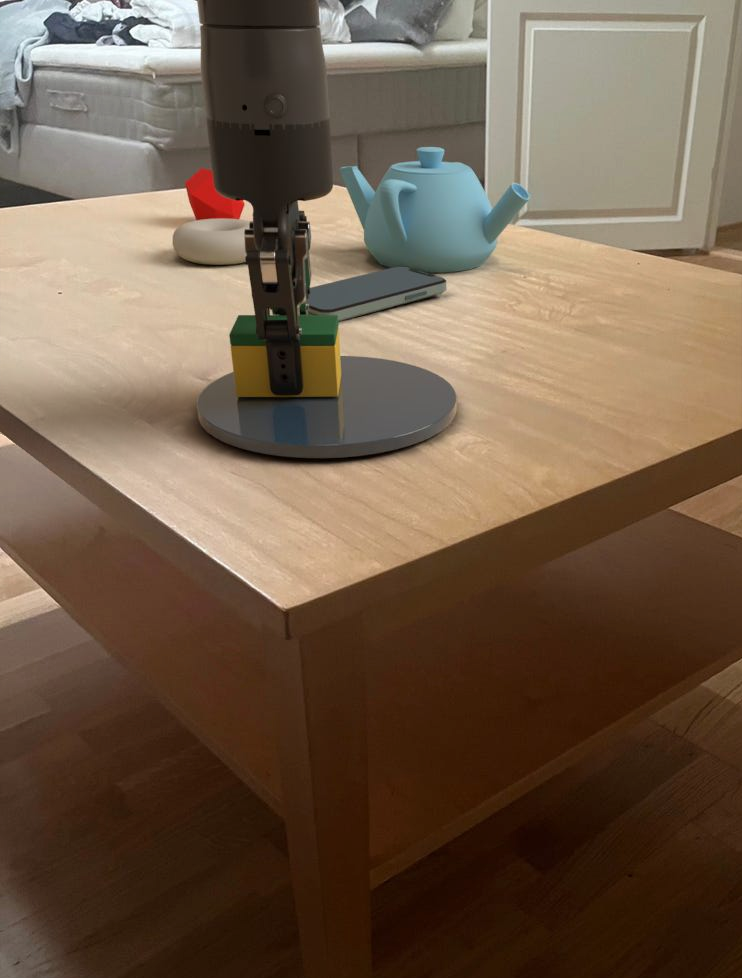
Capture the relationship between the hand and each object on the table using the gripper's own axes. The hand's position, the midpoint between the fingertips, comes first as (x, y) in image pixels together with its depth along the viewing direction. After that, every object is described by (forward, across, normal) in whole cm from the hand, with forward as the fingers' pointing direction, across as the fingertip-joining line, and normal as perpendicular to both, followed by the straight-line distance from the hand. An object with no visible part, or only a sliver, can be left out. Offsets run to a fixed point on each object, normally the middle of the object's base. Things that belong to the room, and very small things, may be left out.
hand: (290, 379), depth 71 cm
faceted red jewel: (+2, -63, -15) cm, 65 cm away
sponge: (+1, 0, 0) cm, 1 cm away
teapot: (+2, -44, +11) cm, 46 cm away
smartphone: (+2, -27, +5) cm, 28 cm away
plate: (+2, +2, +3) cm, 4 cm away
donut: (+2, -45, -12) cm, 47 cm away
